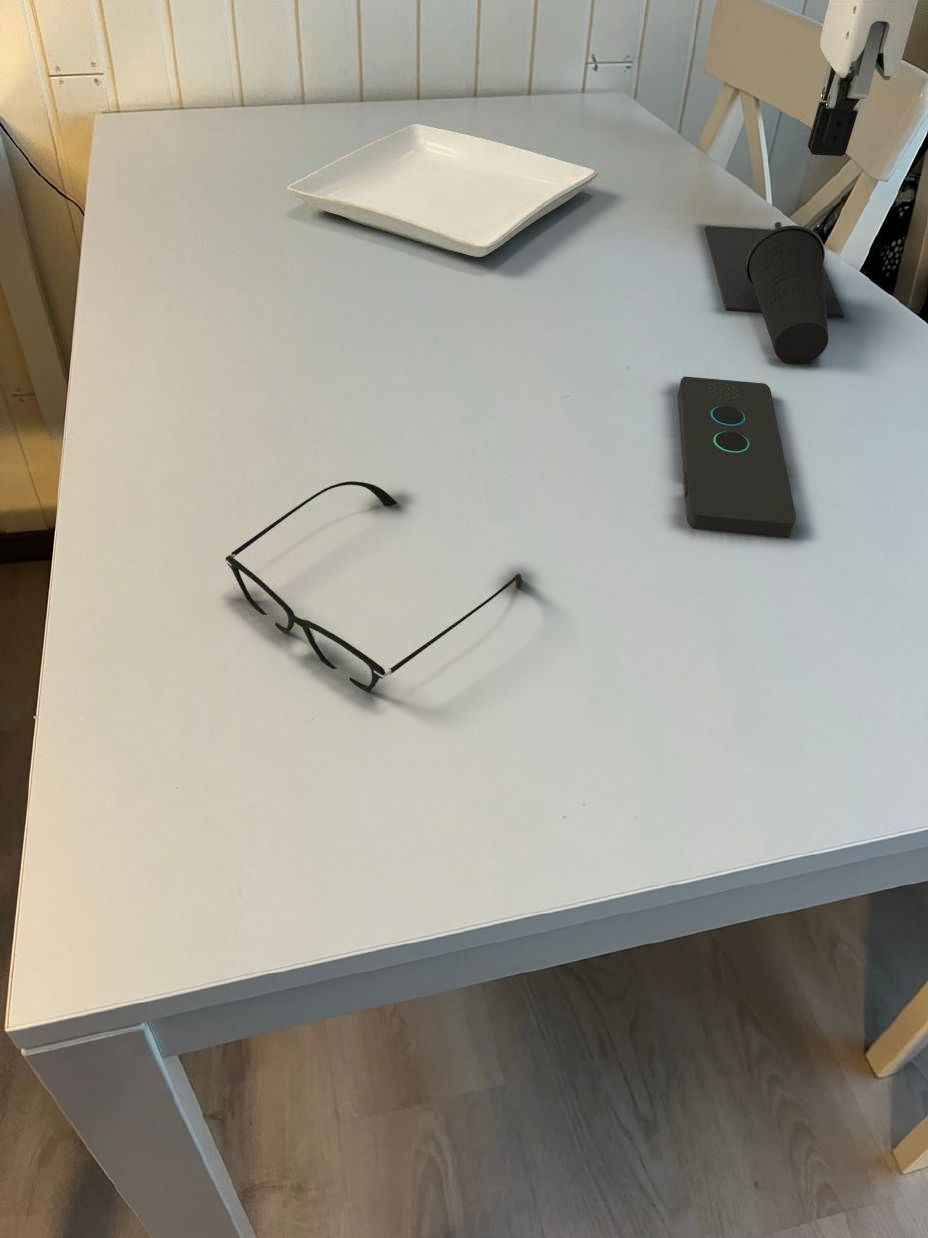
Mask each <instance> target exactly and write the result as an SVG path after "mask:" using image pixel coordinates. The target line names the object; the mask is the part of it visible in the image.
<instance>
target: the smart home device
mask: <svg viewBox="0 0 928 1238" xmlns="http://www.w3.org/2000/svg"><path fill="white" fill-rule="evenodd" d="M677 403H678V417H679V430H680V431H679V432H680V443H681V444H680V445H681V458H682V459H681V460H682V471H683V491H684V499H685V508H686V509H685V510H686V520H687V524H688V526H689V527H691V528H692V529H695V530H705V531H716V532H724V533H733V534H734V533H736V534H746V535H756V536H766V537H776V538H785V539H786V538H789V537H790V536H791V534H792V531H793V528H794V526H795V522H796V521H797V513H796V509H795V504H794V499H793V494H792V489H791V485H790V480H789V474H788V469H787V464H786V459H785V454H784V449H783V444H782V440H781V434H780V429H779V424H778V420H777V415H776V411H775V405H774V400H773V395H772V389H771V388H770V387H769V385H768V384H767V383H764V382H752V381H743V380H733V379H732V380H730V379H720V378H709V377H695V376H683V377H682V378H681V380H680V382H679V388H678V392H677Z"/></svg>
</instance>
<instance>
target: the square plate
mask: <svg viewBox="0 0 928 1238" xmlns="http://www.w3.org/2000/svg"><path fill="white" fill-rule="evenodd" d="M598 175H599V173H598V171H597V170H595V169H594V168H593V169H592V168H589V167H586V166H581V165H579V164H575V163H571V162H568V161H564V160H561V159H558V158H554V157H551V156H547V155H544V154H541V153H537V152H534V151H530V150H527V149H523V148H520V147H516V146H513V145H509V144H506V143H501V142H498V141H494V140H490V139H486V138H483V137H479V136H473V135H469V134H466V133H460V132H456V131H451V130H447V129H442V128H438V127H433V126H429V125H425V124H421V123H413V124H410V125H408V126H406V127H404V128H401V129H399V130H397V131H395V132H393V133H389V134H388V135H386V136H384V137H381V138H379V139H377V140H375V141H373V142H370V143H368V144H366V145H364V146H362V147H360V148H358V149H355V150H354V151H351V152H350V153H348V154H346V155H344V156H341V157H340V158H338V159H336V160H334V161H332V162H330V163H328V164H327V165H325V166H322V167H321V168H318V169H317V170H315V171H313V172H311V173H309V174H307V175H306V176H304V177H302V178H299V179H298V180H296V181H294V182H292V183H291V184H289V185H288V186H286V189H287V190H288V191H289V192H291V193H292V194H294V196H296V197H297V198H298V199H300V200H301V202H304V203H305V204H306V205H309V206H311V207H314V208H316V209H318V210H321V211H324V212H327V213H330V214H334V215H338V216H340V217H344V218H345V219H347V220H349V221H351V222H353V223H356V224H359V225H363V226H366V227H370V228H373V229H376V230H379V231H383V232H386V233H389V234H393V235H396V236H399V237H403V238H405V239H409V240H412V241H414V242H415V241H416V242H417V243H418V242H419V243H422V244H425V245H428V246H431V247H435V248H436V249H437V248H438V249H441V250H444V251H448V252H453V253H460V254H464V255H467V256H470V257H475V258H482V257H485V256H487V255H488V254H490V253H492V252H494V251H495V250H496V249H498V248H499V247H501V246H503V245H504V244H505V243H507V241H509V240H511V239H512V238H513V237H514V236H516V235H517V234H519V233H520V232H521V231H523V230H525V229H526V228H527V227H529V226H530V225H531V224H533V223H534V222H536V221H538V220H539V219H541V218H543V217H544V216H545V215H547V214H548V213H551V212H552V211H553V210H555V209H557V208H558V207H560V206H562V205H563V204H565V203H566V202H568V201H570V199H572V198H574V197H575V196H576V195H578V194H579V193H580V192H581V191H583V190H584V189H585V188H586V187H587V186H588V185H589V184H590V183H591V182H593V180H594V179H595V178H597V177H598Z"/></svg>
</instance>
